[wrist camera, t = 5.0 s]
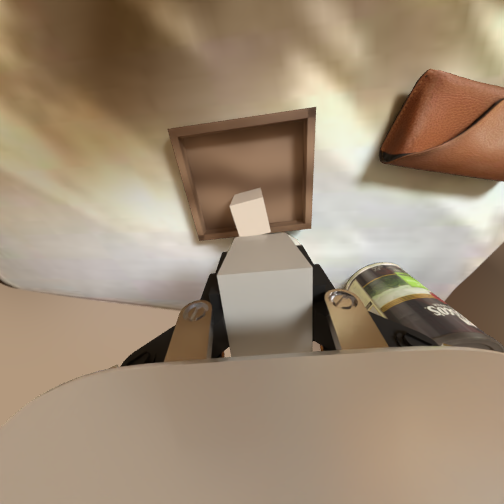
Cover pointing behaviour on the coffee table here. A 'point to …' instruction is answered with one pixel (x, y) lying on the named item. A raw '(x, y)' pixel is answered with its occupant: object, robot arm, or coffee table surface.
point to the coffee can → (415, 307)
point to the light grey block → (266, 296)
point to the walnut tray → (248, 169)
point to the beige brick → (250, 213)
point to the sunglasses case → (449, 128)
